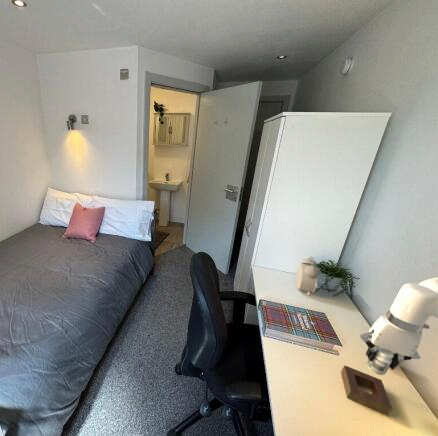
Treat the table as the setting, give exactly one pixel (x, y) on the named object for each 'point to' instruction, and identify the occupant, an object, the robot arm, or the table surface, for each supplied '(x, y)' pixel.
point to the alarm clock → (307, 275)
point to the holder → (374, 400)
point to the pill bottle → (381, 361)
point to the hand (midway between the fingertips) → (379, 361)
